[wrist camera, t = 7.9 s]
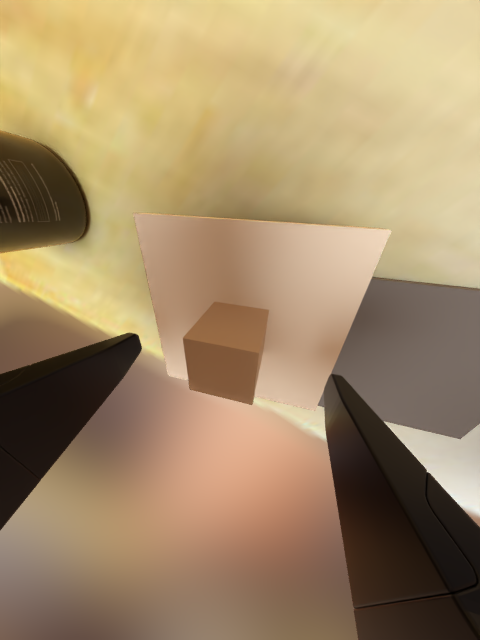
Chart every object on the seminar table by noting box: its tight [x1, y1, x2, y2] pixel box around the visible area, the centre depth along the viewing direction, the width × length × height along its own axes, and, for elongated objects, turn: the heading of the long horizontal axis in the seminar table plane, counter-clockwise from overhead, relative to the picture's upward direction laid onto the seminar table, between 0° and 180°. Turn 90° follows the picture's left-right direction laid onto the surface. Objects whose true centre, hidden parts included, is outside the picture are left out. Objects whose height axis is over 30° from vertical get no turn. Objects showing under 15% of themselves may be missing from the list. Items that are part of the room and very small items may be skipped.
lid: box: [133, 213, 392, 411], centre depth 10 cm, size 11×11×4 cm
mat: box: [318, 277, 480, 439], centre depth 14 cm, size 13×13×1 cm
